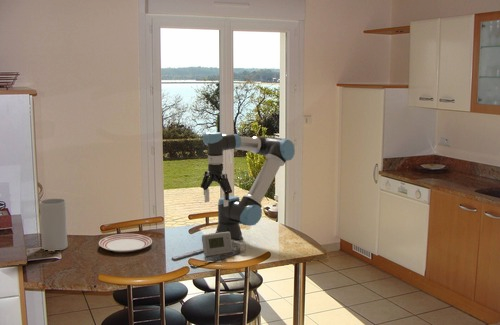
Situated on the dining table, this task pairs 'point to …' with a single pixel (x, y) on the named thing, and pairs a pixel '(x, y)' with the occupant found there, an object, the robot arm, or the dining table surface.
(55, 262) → the dining table surface
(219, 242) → the digital clock
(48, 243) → the cylinder vase
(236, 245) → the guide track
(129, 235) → the dinner plate
